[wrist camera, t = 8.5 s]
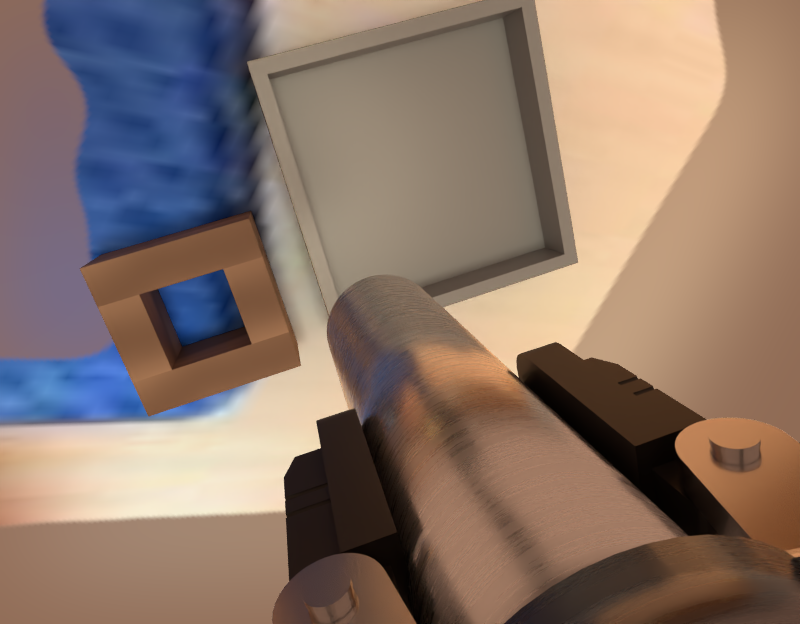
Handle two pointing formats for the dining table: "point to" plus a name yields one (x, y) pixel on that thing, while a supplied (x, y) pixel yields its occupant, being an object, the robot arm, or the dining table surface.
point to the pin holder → (153, 330)
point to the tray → (423, 152)
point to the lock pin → (521, 490)
